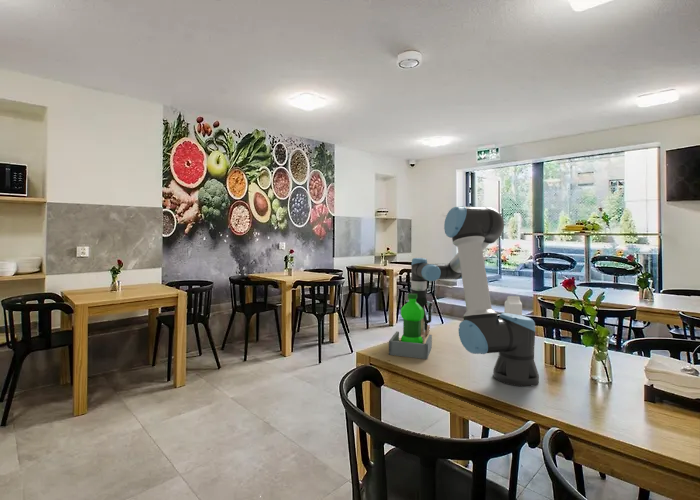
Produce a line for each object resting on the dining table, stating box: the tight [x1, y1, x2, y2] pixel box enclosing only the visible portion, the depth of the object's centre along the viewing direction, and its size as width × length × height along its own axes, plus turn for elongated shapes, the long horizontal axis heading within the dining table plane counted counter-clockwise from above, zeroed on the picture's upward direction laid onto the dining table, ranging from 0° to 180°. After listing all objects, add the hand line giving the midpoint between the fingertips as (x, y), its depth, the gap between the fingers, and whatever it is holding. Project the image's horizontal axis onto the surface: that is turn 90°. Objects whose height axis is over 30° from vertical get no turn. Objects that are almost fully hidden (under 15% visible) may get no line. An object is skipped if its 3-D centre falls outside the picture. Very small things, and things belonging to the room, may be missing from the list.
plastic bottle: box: [400, 292, 424, 344], centre depth 167 cm, size 10×10×25 cm
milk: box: [503, 295, 523, 316], centre depth 180 cm, size 6×6×22 cm
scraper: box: [421, 318, 431, 343], centre depth 185 cm, size 28×8×10 cm, turn 161°
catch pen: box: [388, 331, 433, 360], centre depth 165 cm, size 16×16×6 cm
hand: (418, 335), depth 185 cm, fingers closed on scraper, 5 cm apart
